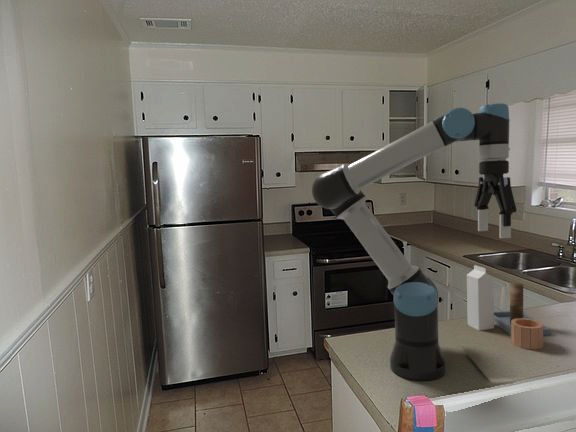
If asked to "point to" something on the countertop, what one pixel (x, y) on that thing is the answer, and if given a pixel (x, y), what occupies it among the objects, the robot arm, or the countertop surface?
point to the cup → (527, 333)
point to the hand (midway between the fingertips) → (493, 234)
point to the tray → (504, 321)
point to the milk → (480, 299)
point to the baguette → (516, 301)
